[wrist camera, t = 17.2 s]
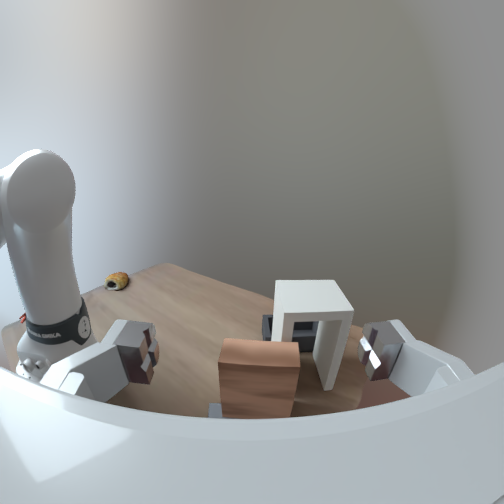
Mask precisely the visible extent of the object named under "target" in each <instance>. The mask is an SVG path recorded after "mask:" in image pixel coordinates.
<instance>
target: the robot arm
mask: <svg viewBox="0 0 504 504" xmlns="http://www.w3.org/2000/svg"><path fill="white" fill-rule="evenodd" d="M74 199H75V180H74V176H73V173H72V171H71V169H70V167H69V166H68V164H67V163H66V162H65V161H64V160H63V159H62V158H61V157H60V156H58V155H56V154H55V153H53V152H51V151H48V150H41V149H40V150H32V151H29V152H26V153H24V154H23V155H21V156H20V157H18V158H17V159H16V160H15V161H14V162H13V163H12V164H11V165H9V166H7V167H5V168H4V169H2V170H0V248H1V247H2V246H3V245H4V244H5V243H7V247H8V252H9V256H10V261H11V264H12V269H13V273H14V277H15V280H16V284H17V286H18V290H19V293H20V297H21V300H22V303H23V306H24V309H25V313H24V314H23V315H22V316H21V317H20V318H19V319H21V318H23V317H24V318H23V319H22V321H21V323H23V322H24V321H25V320H26V327H27V330H26V332H25V333H24V335H23V336H22V338H21V339H20V341H19V343H18V346H17V353H18V356H19V359H20V361H19V362H18V365H17V368H16V373H17V374H16V373H13V372H11V371H9V370H7V369H5V368H2V367H0V504H504V362H502V363H501V364H498V365H496V366H494V367H492V368H490V369H488V370H486V371H483V372H481V373H479V374H476V375H474V374H473V373H472V371H471V370H470V369H469V368H468V367H467V365H466V364H465V363H464V362H463V360H461V359H459V358H457V357H454V356H452V355H450V354H448V353H446V352H443V351H441V350H439V349H437V348H435V347H433V346H431V345H428V344H426V343H424V342H422V341H419V340H418V341H416V339H415V338H414V337H413V336H412V335H411V333H410V332H409V331H408V330H407V329H406V327H405V326H404V325H403V324H402V322H400V321H399V320H390V321H385V322H376V323H366V324H365V326H364V328H363V331H362V333H363V334H364V337H363V338H362V339H361V340H360V342H359V345H358V356H359V360H360V362H361V363H362V364H364V365H365V366H366V368H365V372H366V374H367V375H368V377H369V379H370V381H375V380H381V379H387V378H389V380H390V381H391V382H393V383H394V384H395V385H397V386H398V387H399V388H401V389H402V390H403V391H405V392H406V393H408V394H409V395H410V396H411V397H410V398H406V399H403V400H399V401H395V402H391V403H387V404H382V405H377V406H373V407H368V408H363V409H357V410H351V411H345V412H338V413H331V414H323V415H314V416H304V417H292V418H274V419H219V418H201V417H188V416H178V415H169V414H162V413H155V412H148V411H142V410H136V409H131V408H126V407H121V406H116V405H112V404H107V403H105V402H107V401H108V400H109V399H110V398H112V397H113V396H114V395H115V394H116V393H118V392H119V391H120V390H121V389H123V388H124V387H125V386H126V385H127V384H129V382H132V383H140V384H149V385H150V382H151V379H152V377H153V374H154V371H153V367H154V366H156V365H157V362H158V359H159V345H158V341H157V340H156V339H155V338H154V336H155V334H156V330H155V325H154V324H153V323H146V322H137V321H128V320H119V319H118V320H116V321H115V322H114V324H113V325H112V327H111V328H110V330H109V331H108V333H107V334H106V336H105V337H104V339H103V340H102V342H101V343H99V342H98V341H97V339H96V337H95V335H94V333H93V331H92V329H91V325H90V320H89V315H88V312H87V308H86V305H85V302H84V299H83V298H82V297H81V295H80V291H79V287H78V283H77V278H76V274H75V269H74V264H73V257H72V206H73V203H74Z"/></svg>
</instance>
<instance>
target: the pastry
mask: <svg viewBox="0 0 504 504" xmlns="http://www.w3.org/2000/svg"><path fill="white" fill-rule="evenodd" d="M127 282H128V275H127V274H126V273H122V272H118V273H114V274H111V275H109V277H107V278H106V280H105V284H104V287H105V288H106V289H107V290H120V289H122V288H124V287H125V286H126V284H127Z"/></svg>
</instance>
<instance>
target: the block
mask: <svg viewBox="0 0 504 504" xmlns="http://www.w3.org/2000/svg"><path fill="white" fill-rule="evenodd" d="M218 369H219V383H220V396H221V408H222V417H229V418H239V419H274V418H290V415H291V411H292V406H293V402H294V397H295V392H296V387H297V382H298V377H299V372H300V357H299V347H298V342H276V341H258V340H243V339H230V338H224V341H223V345H222V349H221V353H220V356H219V360H218Z"/></svg>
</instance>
